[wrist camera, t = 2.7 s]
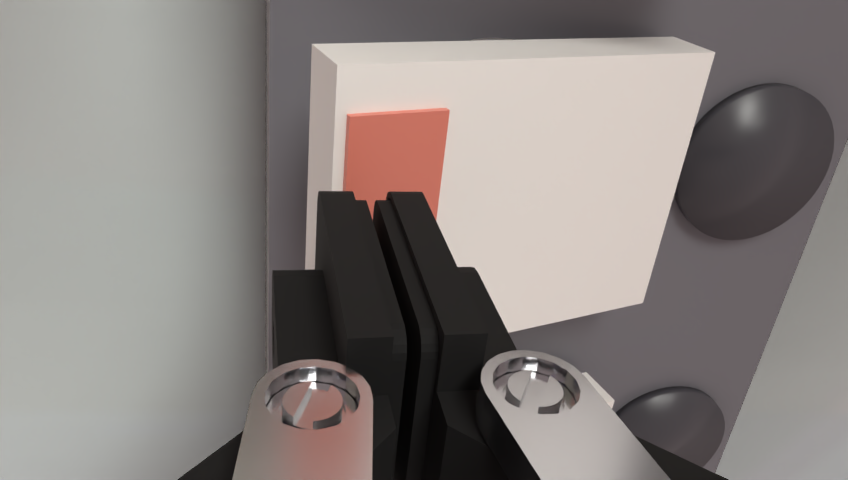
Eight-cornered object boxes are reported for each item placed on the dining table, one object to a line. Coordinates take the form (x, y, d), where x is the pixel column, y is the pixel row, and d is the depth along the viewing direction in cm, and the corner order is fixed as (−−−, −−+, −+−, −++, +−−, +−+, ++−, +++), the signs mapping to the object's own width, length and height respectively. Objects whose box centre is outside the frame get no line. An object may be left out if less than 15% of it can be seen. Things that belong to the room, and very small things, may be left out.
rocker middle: (645, 26, 16) (720, 54, 15) (588, 259, 19) (646, 306, 18) (294, 29, 13) (340, 67, 11) (289, 313, 16) (325, 377, 14)
